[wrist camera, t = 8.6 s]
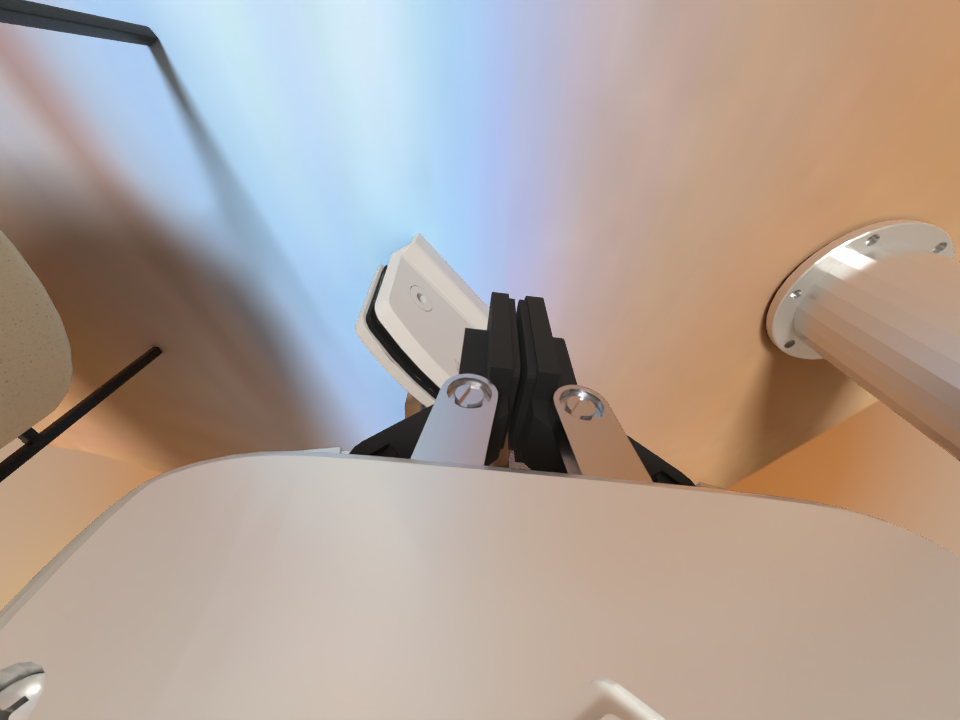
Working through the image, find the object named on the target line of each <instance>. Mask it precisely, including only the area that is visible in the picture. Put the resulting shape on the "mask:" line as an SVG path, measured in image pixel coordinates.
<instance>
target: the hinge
mask: <svg viewBox="0 0 960 720" xmlns="http://www.w3.org/2000/svg"><path fill="white" fill-rule="evenodd" d="M489 309H490V308H489V307H488V306H487V305H486V304H485V303H484V302H483V301H482V300H481V298H480V297H479V296H478V295H477V294H476V293H475V292H474V291H473V290H472V289H471V288H470V287H469V286H468V284H467V283H466V282H465V281H464V280H463V279H462V278H461V277H460V276H459V275H458V274H457V273H456V272H455V271H454V269H453V268H452V267H451V266H450V265H449V264H448V263H447V262H446V261H445V260H444V259H443V258H442V257H441V255H440V254H439V253H438V252H437V251H436V250H435V249H434V248H433V247H432V246H431V245H430V244H429V243H428V241H427V240H426V239H425V238H424V237H423V236H422V235H421V234H420V233H418V234H417V235H415V236H414V238H413V239H412V241H411V243H410V244H408V245H406V246H405V247H403V248H401V249H399V250H398V251H396V252H394V253H393V254H392V255H391V258H390V261H389V264H388V266H387V265H386V266H385V267H384V266H383V265H382V264H381V265H380V266H379V268H378V270H377V271H376V273H375V275H374V277H373V280H372V283H371V285H370V288H369V291H368V293H367V296H366V299H365V301H364V304H363V307H362V309H361V312H360V315H359V317H358V320H357V323H356V327H355V328H356V333H357V335H358V337H359V338H360V339H361V341H362V342H363V343H364V345H365V346H366V347H367V349H368V350H369V351H370V352H371V353H372V355H373V356H374V357H375V358H376V359H377V360H378V362H379V363H380V364H381V365H382V366H383V367H384V368H385V369H386V371H387V372H388V373H389V374H390V375H391V376H392V377H393V378H394V379H395V380H396V381H397V382H398V383H399V384H400V385H401V386H402V387H403V388H404V389H406V390H407V391H408V392H409V393H410V394H411V395H413V396H414V397H415V398H416V399H417V400H418V401H420V402H421V403H422V404H423V405H425V406H426V407H429V406H431V405H433V404H434V403H435V401H436V398H437V396H438V394H439V391H440V389H441V387H442V385H443V384H444V382H445V381H446V380H448V379H449V378H450V377H453V376H455V375H458V374H459V368H460V361H461V354H462V347H463V340H464V332H465V328H472V329H481V330H487V324H488V317H489Z"/></svg>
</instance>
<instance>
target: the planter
mask: <svg viewBox="0 0 960 720" xmlns="http://www.w3.org/2000/svg"><path fill="white" fill-rule="evenodd" d="M0 22H2V23H9V24H15V25H21V26H27V27H34V28H40V29H46V30H53V31H59V32H65V33H72V34H78V35H84V36H91V37H97V38H103V39H109V40H116V41H122V42H128V43H135V44H141V45H147V46H152V45H153V44H154V42H155V41H156V40H157V39H158V38H157V36H156V35H155V34H154V33H153V32H152V30H151V29H150V28H149V27H147V26H142V25H137V24H133V23H128V22H124V21H119V20H114V19H110V18H105V17H100V16H96V15H91V14H86V13H82V12H77V11H72V10H68V9H63V8H59V7H54V6H49V5H45V4H40V3H35V2H31V1H26V0H0ZM161 353H162V351H161V350H160V349H159V347H152V348H151V349H150V350H148V351H147V352H146V353H144V354H143V355H142V356H140V357H139V358H138V359H136V360H135V361H134V362H133V363H131V364H130V365H129V366H127V367H126V368H125V369H123V370H122V371H121V372H119V373H118V374H117V375H115V376H114V377H113V378H111V379H110V380H109V381H108V382H106V383H105V384H104V385H102V386H101V387H100V388H98V389H97V390H96V391H94V392H93V393H92V394H90V395H89V396H88V397H86V398H85V399H84V400H82V401H81V402H80V403H79V404H77V405H76V406H75V407H73V408H72V409H71V410H69V411H68V412H67V413H65V414H64V415H63V416H61V417H60V418H59V419H57V420H56V421H55V422H54V423H52V424H51V425H50V426H48V427H47V428H46V429H44V430H43V431H42V432H40V433H37V432H36V431H35V430H34V429H33V428H31V427H32V426H34V425H35V424H37V423H38V422H39V421H41V420H42V419H44V418H45V417H46V416H48V415H49V414H50V413H52V412H53V411H54V410H55V409H56V408H57V407H58V405H59V404H60V403H61V401H62V400H63V398H64V397H65V395H66V394H67V392H68V391H69V387H70V383H71V378H72V374H73V369H72V358H71V348H70V343H69V340H68V337H67V334H66V331H65V328H64V326H63V323H62V320H61V317H60V315H59V313H58V312H57V310H56V308H55V306H54V304H53V302H52V301H51V299H50V297H49V295H48V293H47V292H46V290H45V288H44V286H43V284H42V283H41V282H40V280H39V279H38V278H37V276H36V275H35V273H34V272H33V271H32V269H31V268H30V266H29V265H28V264H27V262H26V261H25V260H24V258H23V257H22V255H21V254H20V253H19V251H18V250H17V249H16V247H15V246H14V245H13V243H12V242H11V241H10V240H9V239H8V238H7V237H6V235H5V234H4V233H3V232H2V231H1V230H0V449H1V448H3V447H4V446H5V445H7V444H8V443H10V442H11V441H13V440H14V439H15V438H17V437H18V438H19V439H20V440H22V442H23V443H25V445H23V446H22V447H21V448H19V449H18V450H17V451H16V452H14V453H13V454H12V455H10V456H9V457H7V458H6V459H5V460H4V461H2V462H1V463H0V482H1V481H3V480H4V479H5V478H6V477H8V476H9V475H10V474H11V473H13V472H14V471H15V470H16V469H17V468H19V467H20V466H21V465H23V464H24V463H25V462H26V461H27V460H29V459H30V458H31V457H33V456H34V455H35V454H36V453H38V452H39V451H40V450H41V449H43V448H44V447H45V446H46V445H48V444H49V443H50V442H51V441H53V440H54V439H55V438H56V437H58V436H59V435H60V434H61V433H63V432H64V431H65V430H66V429H68V428H69V427H70V426H71V425H73V424H74V423H75V422H76V421H78V420H79V419H80V418H81V417H83V416H84V415H85V414H86V413H88V412H89V411H90V410H91V409H93V408H94V407H95V406H96V405H98V404H99V403H100V402H101V401H103V400H104V399H105V398H106V397H108V396H109V395H110V394H111V393H113V392H114V391H115V390H116V389H118V388H119V387H120V386H121V385H123V384H124V383H125V382H126V381H128V380H129V379H130V378H131V377H133V376H134V375H135V374H136V373H138V372H139V371H140V370H141V369H143V368H144V367H145V366H146V365H148V364H149V363H150V362H151V361H153V360H154V359H155V358H156V357H158V356H159V355H160V354H161Z"/></svg>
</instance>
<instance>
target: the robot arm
mask: <svg viewBox="0 0 960 720" xmlns="http://www.w3.org/2000/svg"><path fill="white" fill-rule="evenodd" d="M954 254H955V250H954V245H953V241H952V239H951V238H950V236H949V235H948V233H947V232H946V231H944V230H942V229H941V228H939V227H938V226H935V225H932V224H929V223H925V222H922V221H917V220H909V219H898V220H887V221H883V222H879V223H875V224H871V225H868V226H865V227H862V228H860V229H857V230H855V231H852V232H850V233H848V234H846V235H844V236H842V237H840V238H838V239H836V240H834V241H832V242H831V243H829V244H828V245H826V246H825V247H823V248H822V249H820V250H819V251H817V252H816V253H814V254H813V255H812V256H811V257H809V258H808V259H807V260H806V261H805V262H803V263H802V264H801V265H800V266H799V267H798V268H797V269H796V270H795V271H794V272H793V273H792V274H791V275H790V276H789V277H788V278H787V279H786V281H785V282H784V283H783V285H782V286H781V288H780V289H779V290H778V292H777V293H776V295H775V297H774V299H773V301H772V303H771V305H770V308H769V311H768V314H767V321H766V328H767V333H768V336H769V338H770V339H771V341H772V343H773V344H775V345H776V346H777V347H778V348H779V349H780V350H781V351H783V352H785V353H786V354H788V355H790V356H793V357H796V358H800V359H811V360H813V359H825V360H827V361H828V362H829V363H831V364H832V365H833V366H835V367H836V368H837V369H839V370H840V371H841V372H843V373H844V374H845V375H846V376H848V377H849V378H850V379H852V380H853V381H854V382H856V383H857V384H858V385H860V386H861V387H862V388H864V389H865V390H866V391H868V392H869V393H870V394H872V395H873V396H874V397H876V398H877V399H878V400H880V401H881V402H882V403H883V404H885V405H886V406H887V407H889V408H890V409H891V410H893V411H894V412H895V413H897V414H898V415H899V416H901V417H902V418H903V419H905V420H906V421H907V422H909V423H910V424H911V425H913V426H914V427H915V428H916V429H918V430H919V431H920V432H922V433H923V434H925V435H926V436H927V437H928V438H930V439H931V440H932V441H934V442H935V443H936V444H938V445H939V446H940V447H942V448H943V449H944V450H946V451H947V452H948V453H950V454H951V455H952V456H953V457H955V458H956V459H957V460H959V461H960V261H957V260H954ZM507 433H508V450H514V455H515V462H522V463H524V464H526V465H527V466H528V467H529V468H530V470H523V469H513V468H502V467H492V466H489V465H490V464H492V463H493V462H494V461H496V460H497V459H498V458H499V454H500V449H503V448H504V444H505V440H506V435H507ZM0 720H960V557H959V556H957V555H956V554H954V553H953V552H951V551H949V550H948V549H946V548H944V547H942V546H940V545H938V544H936V543H935V542H933V541H931V540H929V539H927V538H925V537H923V536H920V535H918V534H916V533H914V532H912V531H910V530H907V529H905V528H902V527H900V526H897V525H894V524H892V523H889V522H887V521H884V520H882V519H879V518H876V517H873V516H869V515H866V514H863V513H859V512H856V511H852V510H849V509H846V508H842V507H837V506H832V505H828V504H822V503H818V502H813V501H806V500H800V499H792V498H785V497H778V496H772V495H764V494H756V493H747V492H738V491H729V490H726V489H722V488H719V487H715V486H712V485H708V484H705V483H701V482H698V484H697V485H696V486H695V485H694V483H693V482H692V481H691V480H690V479H689V478H688V477H686V476H685V475H684V474H683V473H682V472H680V471H679V470H677V469H676V468H674V467H673V466H671V465H670V464H668V463H667V462H665V461H664V460H663V459H661V458H660V457H658V456H657V455H655V454H654V453H652V452H651V451H649V450H648V449H646V448H645V447H643V446H642V445H641V444H639V443H638V442H636V441H635V440H633V439H632V438H630V437H629V436H627V435H626V434H625V432H624V430H623V428H622V427H621V425H620V423H619V421H618V419H617V418H616V416H615V414H614V412H613V411H612V409H611V407H610V405H609V404H608V402H607V401H606V400H605V399H604V397H602V396H601V395H600V394H599V393H597V392H596V391H594V390H592V389H590V388H587V387H584V386H580V385H577V382H576V379H575V375H574V372H573V368H572V365H571V361H570V358H569V354H568V351H567V347H566V344H565V341H564V339H562V338H554V337H552V332H551V328H550V324H549V320H548V316H547V311H546V307H545V303H544V299H543V298H540V297H532V296H526V297H525V300H519V302H518V306H517V312H516V309H515V299H510V298H509V294H505V293H496V292H492V295H491V302H490V309H489V317H488V324H487V330H481V329H472V328H465V332H464V340H463V347H462V354H461V361H460V368H459V374H458V375H455V376H453V377H450V378H449V379H448V380H446V381H445V382H444V384H443V385H442V387H441V389H440V391H439V394H438V396H437V398H436V401H435V403H434V404H433V405H431V406H429V407H427V408H425V409H423V410H421V411H419V412H417V413H416V414H414V415H412V416H410V417H408V418H406V419H404V420H402V421H400V422H398V423H397V424H395V425H393V426H391V427H389V428H387V429H385V430H383V431H381V432H379V433H377V434H376V435H374V436H372V437H370V438H368V439H366V440H364V441H362V442H361V443H360V444H358V445H357V446H355V447H354V448H353V449H352V450H351V451H341V447H333V448H322V449H311V450H301V451H262V452H253V453H244V454H235V455H228V456H223V457H218V458H214V459H209V460H204V461H199V462H195V463H192V464H188V465H185V466H181V467H179V468H176V469H173V470H170V471H167V472H164V473H162V474H160V475H158V476H156V477H154V478H152V479H150V480H148V481H146V482H144V483H143V484H141V485H140V486H138V487H137V488H135V489H133V490H132V491H130V492H129V493H128V494H126V495H125V496H124V497H122V498H121V499H120V500H118V501H117V502H116V503H114V504H113V505H112V506H111V507H110V508H108V509H107V510H106V511H105V512H103V513H102V514H101V515H100V516H99V517H98V518H97V519H95V520H94V521H93V522H92V523H91V524H90V525H89V526H87V528H85V529H84V530H83V531H82V532H81V533H80V534H79V535H77V536H76V537H75V538H74V539H73V540H72V541H71V542H70V543H69V544H68V545H67V546H66V547H65V548H63V550H62V551H60V552H59V553H58V554H57V555H56V556H55V557H54V558H53V559H52V560H51V561H50V562H49V563H48V564H47V565H46V566H45V567H44V568H43V569H42V570H41V571H40V572H39V573H38V574H37V575H35V577H33V578H32V580H31V581H30V582H29V583H28V584H27V585H26V586H25V587H24V588H23V589H22V590H21V591H20V592H19V593H18V594H17V595H16V596H15V597H14V598H13V599H12V600H11V601H10V602H9V603H8V604H7V605H6V606H5V607H4V608H3V609H2V610H1V611H0Z"/></svg>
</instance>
